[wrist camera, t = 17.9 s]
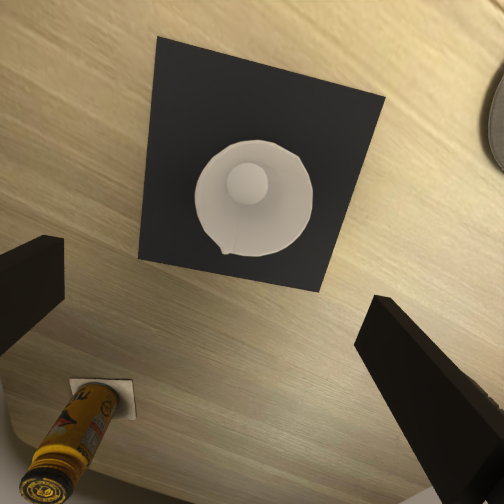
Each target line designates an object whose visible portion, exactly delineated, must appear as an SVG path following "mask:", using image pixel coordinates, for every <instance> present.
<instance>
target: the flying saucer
mask: <svg viewBox="0 0 504 504" xmlns="http://www.w3.org/2000/svg"><path fill="white" fill-rule="evenodd" d="M488 139H489V144H490V148H491V151H492V154H493V156H494V158H495V160H496V162H497V163H498V165H499V166H500V167H501V169H502V170H503V171H504V75H503V77H502V79H501V81H500V83H499V85H498V87H497V89H496V92H495V94H494V97H493V100H492V104H491V108H490V113H489V119H488Z"/></svg>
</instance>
